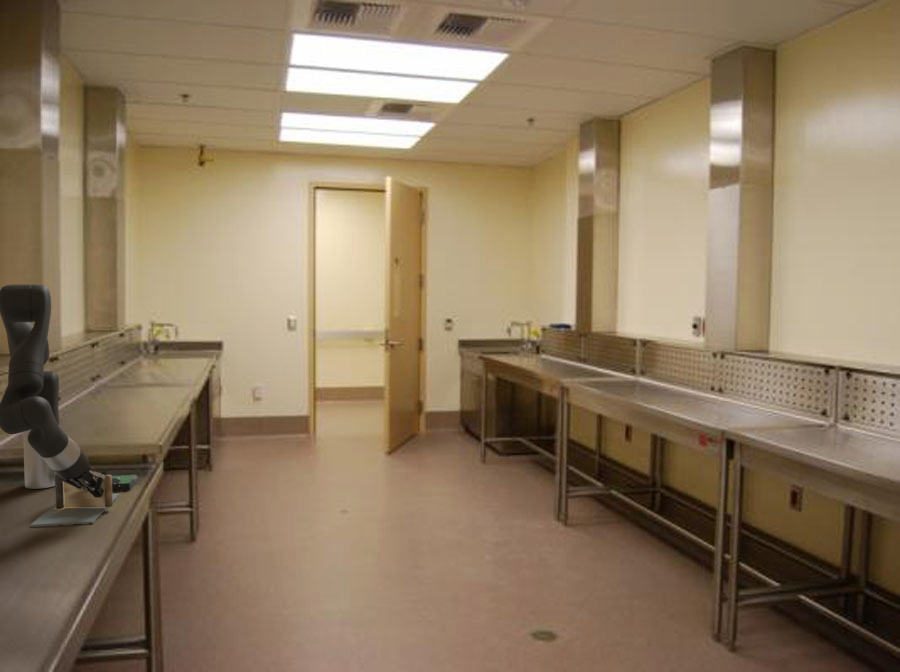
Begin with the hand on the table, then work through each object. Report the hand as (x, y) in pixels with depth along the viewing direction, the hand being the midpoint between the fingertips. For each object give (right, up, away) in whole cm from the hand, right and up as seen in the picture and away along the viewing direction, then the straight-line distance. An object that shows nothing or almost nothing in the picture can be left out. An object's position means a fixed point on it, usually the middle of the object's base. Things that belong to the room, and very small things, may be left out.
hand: (99, 494), depth 187 cm
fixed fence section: (-12, -4, +6) cm, 14 cm away
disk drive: (-9, -4, +24) cm, 26 cm away
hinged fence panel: (-4, -3, +2) cm, 5 cm away
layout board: (-7, -4, +2) cm, 8 cm away
